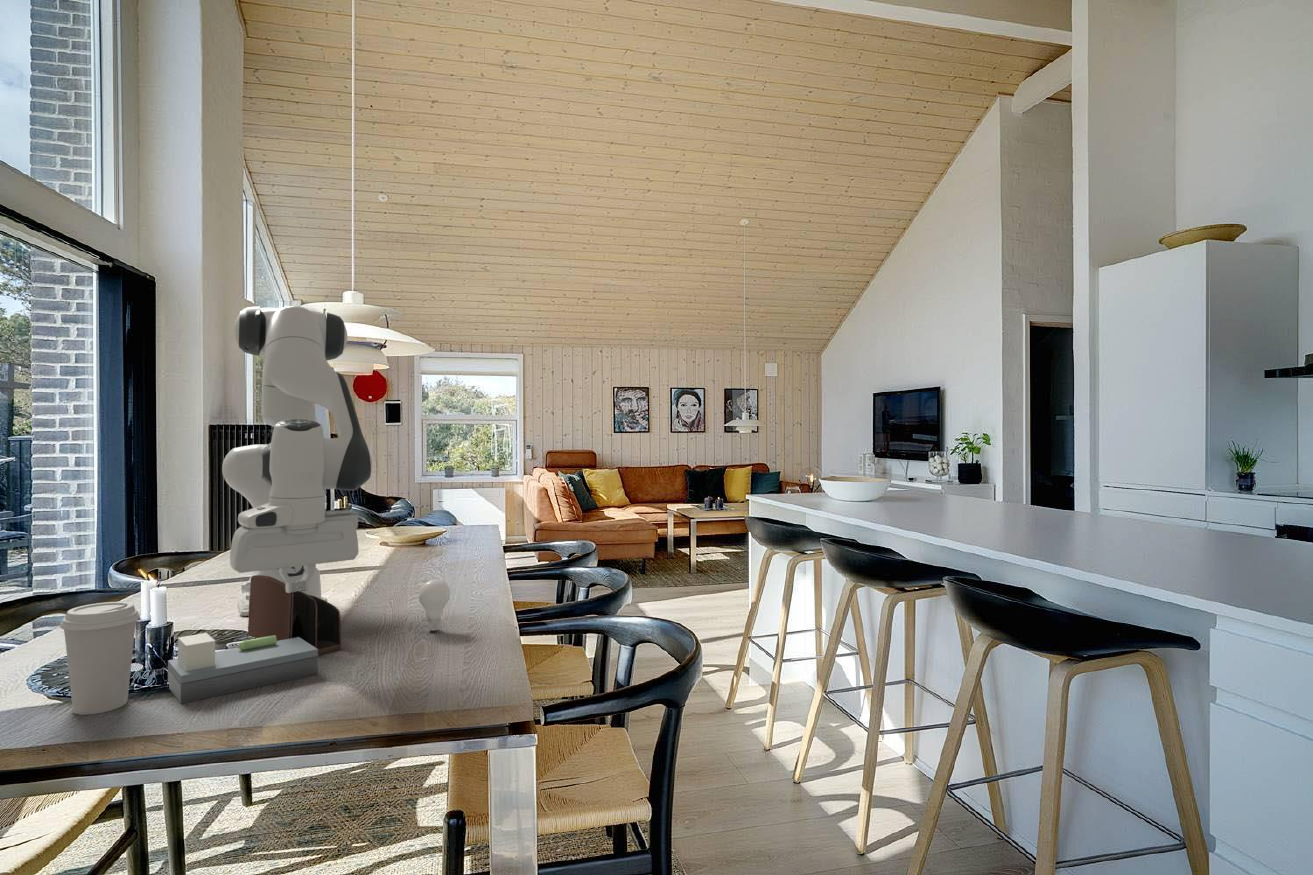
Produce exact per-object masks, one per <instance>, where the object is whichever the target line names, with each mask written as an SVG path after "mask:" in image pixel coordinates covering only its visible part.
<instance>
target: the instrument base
mask: <svg viewBox="0 0 1313 875" xmlns="http://www.w3.org/2000/svg"><path fill="white" fill-rule="evenodd" d="M318 656H319V655H318ZM318 656H316V657H311V658H306V659H301V660H296V661H291V662H286V663H281V664H276V665H271V666H266V667H261V668H256V669H251V670H246V671H241V672H237V673H232V674H227V675H222V676H217V677H212V678H207V679H202V680H197V681H192V682H187V683H182V684H181V683H180V682H179V681H178V680H177V678H176V677H175V676H174V675H173V674H172V672H171V671H170V670H169V669H168V668H167V684H168V683H169V688H168V689H169V691H170V692H171V693H172V694H173V696H174V697H175V698H176V700H177V701H178V703H179V704H180V705H181V704H182V705H183V704H185V703H186V704H187V703H190V702H195V701H200V700H204V699H209V698H214V697H218V696H223V695H227V694H232V693H236V692H237V693H238V692H240V691H246V690H250V689H255V688H259V687H264V686H268V685H274V684H279V683H282V682H283V683H284V682H288V681H291V680H296V679H300V678H301V679H302V678H305V677H310V676H314V675H318V674H319V670H318V669H319V657H318Z"/></svg>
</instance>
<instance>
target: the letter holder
mask: <svg viewBox="0 0 1313 875" xmlns="http://www.w3.org/2000/svg"><path fill="white" fill-rule="evenodd" d="M251 576H252V575H251ZM251 576H250V577H251ZM341 617H342V616H341V612H340V610H339V608H338V607H336V606H335V605H334V604H332V603H330V602H328V600H327V601H325V600H323V599H320V598H318V597H315V596H312V595H307V594H305V593H304V592H302V591H297V592H292V593H287V592H286V590H285V583H283V582H281V581H279V580H277V579H275V578H273V577H270V576H264V575H255V576H252V577H251V583H250V599H249V616H248V619H247V620H248V621H247V624H248V625H247V636H248V635H250V636H252V637H255V638H262V637H267V636H273V635H276V638H277V641H279V640H285V639H291V638H296V637H300V638H301V639H303V640H304V641H306V642H307V643H309V644H311V645H312V646H314V647H315V648H317V649H318V656H319V655H324V654H327V653H332V652H336V651H340V650H341V649H342V628H341V627H342V626H341V623H342V622H341V621H342V620H341Z"/></svg>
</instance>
